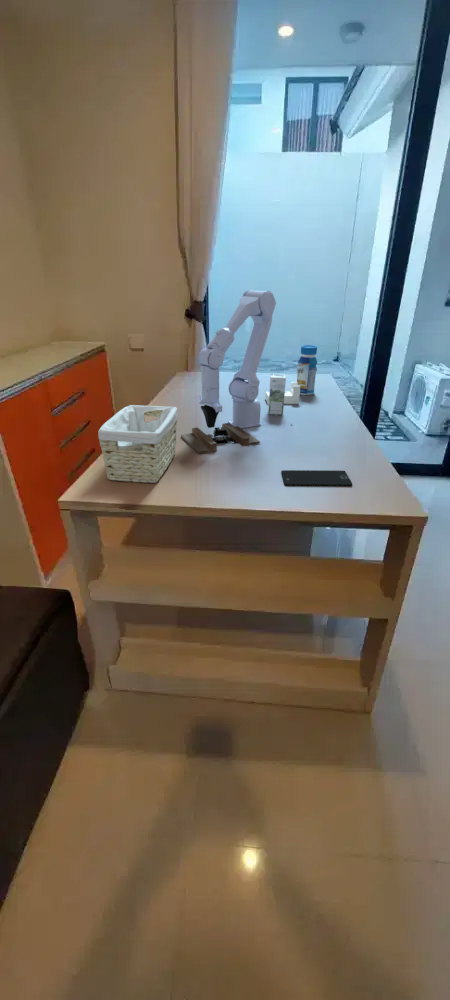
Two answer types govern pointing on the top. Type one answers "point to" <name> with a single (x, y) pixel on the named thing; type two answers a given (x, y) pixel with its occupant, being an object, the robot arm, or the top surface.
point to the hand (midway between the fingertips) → (210, 426)
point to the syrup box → (276, 394)
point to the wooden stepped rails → (206, 444)
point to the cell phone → (315, 478)
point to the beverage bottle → (307, 369)
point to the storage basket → (138, 443)
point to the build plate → (222, 439)
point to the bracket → (289, 394)
